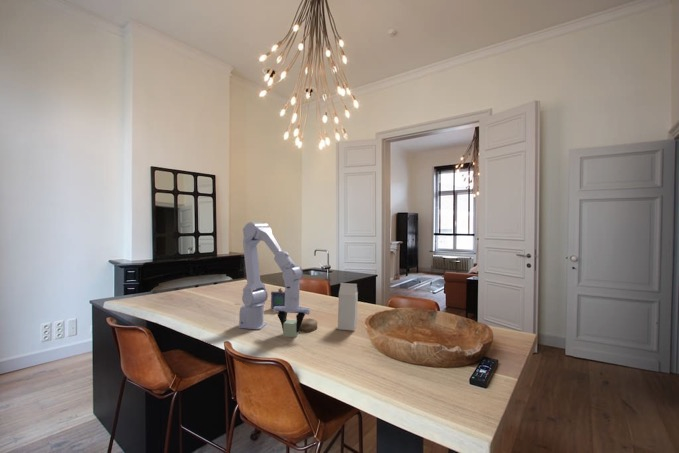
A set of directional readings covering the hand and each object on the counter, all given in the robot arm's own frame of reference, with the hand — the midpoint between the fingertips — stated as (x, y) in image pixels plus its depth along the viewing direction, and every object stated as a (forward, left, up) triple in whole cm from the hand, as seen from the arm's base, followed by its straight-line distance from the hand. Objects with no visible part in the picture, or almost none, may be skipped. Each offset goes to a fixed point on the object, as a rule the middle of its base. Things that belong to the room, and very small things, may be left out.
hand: (291, 330), depth 123 cm
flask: (-16, +33, -2) cm, 37 cm away
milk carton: (+21, +13, -2) cm, 25 cm away
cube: (0, 0, -1) cm, 1 cm away
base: (+4, +9, -1) cm, 10 cm away
